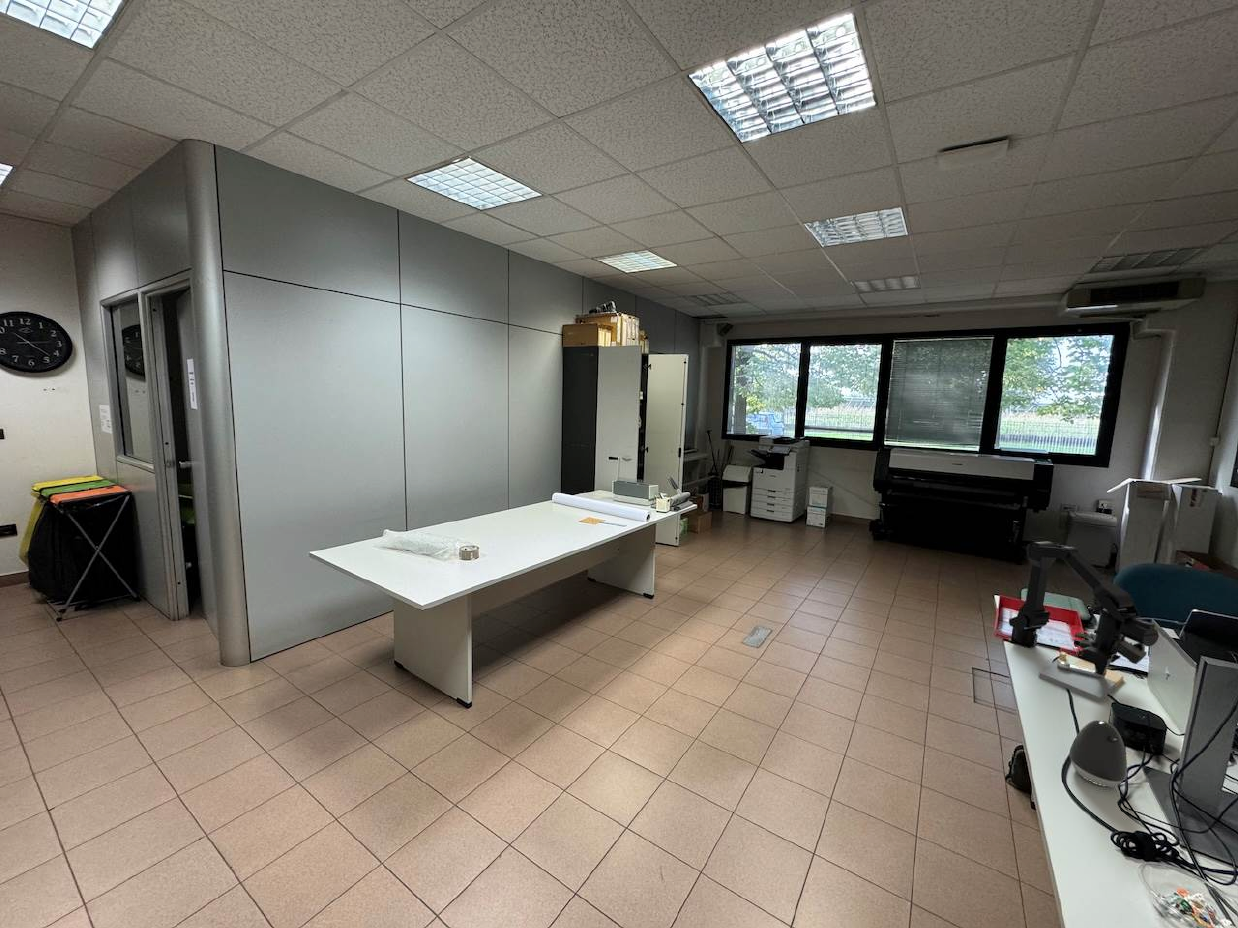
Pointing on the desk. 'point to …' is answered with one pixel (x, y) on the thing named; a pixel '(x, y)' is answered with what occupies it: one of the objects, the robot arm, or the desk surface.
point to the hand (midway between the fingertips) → (1100, 674)
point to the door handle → (1079, 669)
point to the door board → (1081, 678)
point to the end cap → (1084, 643)
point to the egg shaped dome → (1099, 754)
